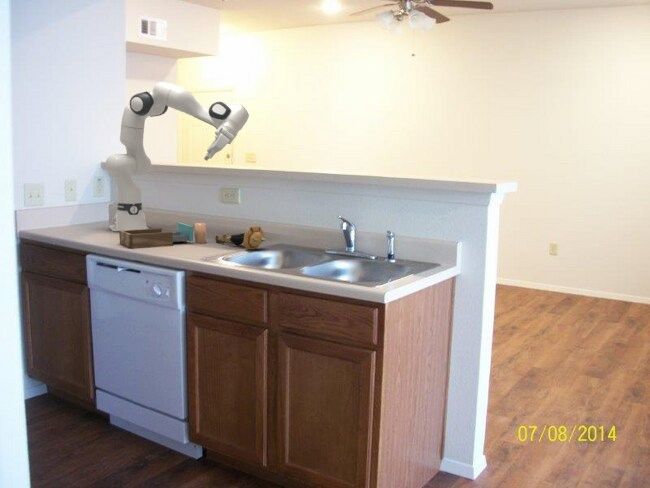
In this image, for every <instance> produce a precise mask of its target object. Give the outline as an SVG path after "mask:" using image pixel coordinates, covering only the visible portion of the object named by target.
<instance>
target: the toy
mask: <svg viewBox="0 0 650 488" xmlns="http://www.w3.org/2000/svg"><path fill="white" fill-rule="evenodd" d="M264 236H265V232H264V230H263V229H262V228H261V226H260V225H257V226H256V225H255V226H250V227H249V229H248V230H247V231H246V232H244V233H240V234H239V233H238V234H232V235H230V236H229V237H228V236H227V235H226V234H223V237H221V239H220V237H219V235H215V242H216V244H225V243H232V244H233V245H235V246H240V245H242V244H243V247H244V248H246V250H247V251H249V250H248V249H252V250H256V249H255V248H257V249H258V248H259V247H260V245H261V244H262V243H263V242H265V241H266V238H264Z"/></svg>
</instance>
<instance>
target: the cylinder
mask: <svg viewBox="0 0 650 488" xmlns="http://www.w3.org/2000/svg"><path fill="white" fill-rule="evenodd" d="M206 226H207V224H206V223H205V222H195V223H194V244H199V245H200V244H206V243H207V227H206Z"/></svg>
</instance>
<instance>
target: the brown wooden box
mask: <svg viewBox="0 0 650 488" xmlns="http://www.w3.org/2000/svg"><path fill="white" fill-rule="evenodd" d="M118 233H119V245H122V246H123V247H126V248H128V249H143V248H144V249H145V248H159V247H171V246H173V245H174V242H173V231H163V228H161V227H160V228H148V229H140V230H124V231H118Z"/></svg>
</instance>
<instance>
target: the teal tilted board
mask: <svg viewBox="0 0 650 488" xmlns="http://www.w3.org/2000/svg"><path fill="white" fill-rule="evenodd" d="M176 224H177V225H176V227H177V228H176V230H177V232H175V231H174V232H173V231H172V232H173V243H175V242H187V241H188V242H194V226H193V225H189V224H186V223H183V222H179V221H178V222H177V223H176Z"/></svg>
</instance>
